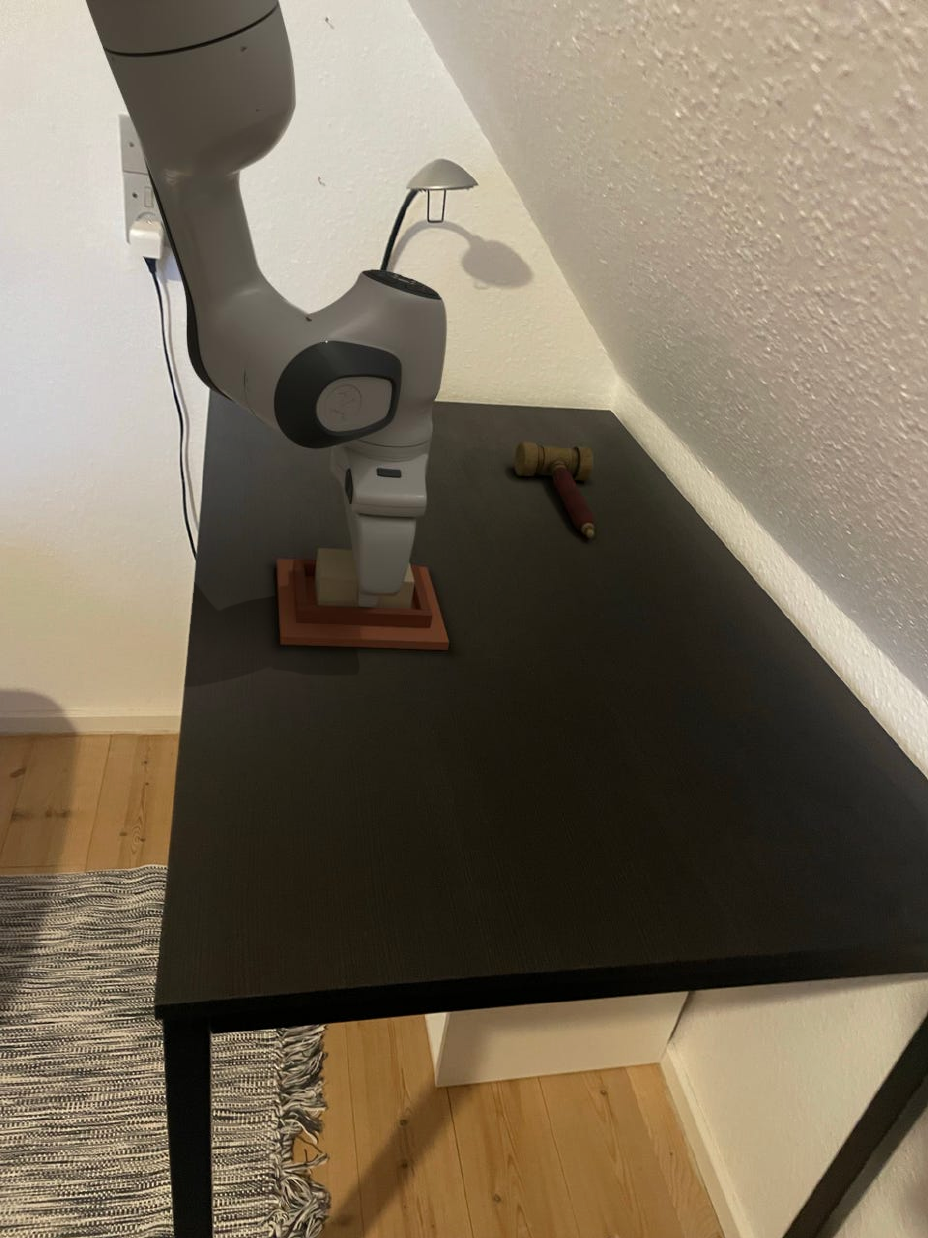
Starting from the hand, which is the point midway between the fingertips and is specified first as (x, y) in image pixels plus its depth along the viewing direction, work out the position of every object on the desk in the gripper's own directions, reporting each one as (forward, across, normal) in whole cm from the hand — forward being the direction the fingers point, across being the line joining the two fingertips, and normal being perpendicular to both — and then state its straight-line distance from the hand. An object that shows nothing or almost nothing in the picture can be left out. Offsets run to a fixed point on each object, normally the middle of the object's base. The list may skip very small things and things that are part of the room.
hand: (362, 584), depth 94 cm
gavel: (+3, -27, +30) cm, 40 cm away
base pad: (+3, 0, 0) cm, 3 cm away
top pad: (+2, 0, 0) cm, 2 cm away
